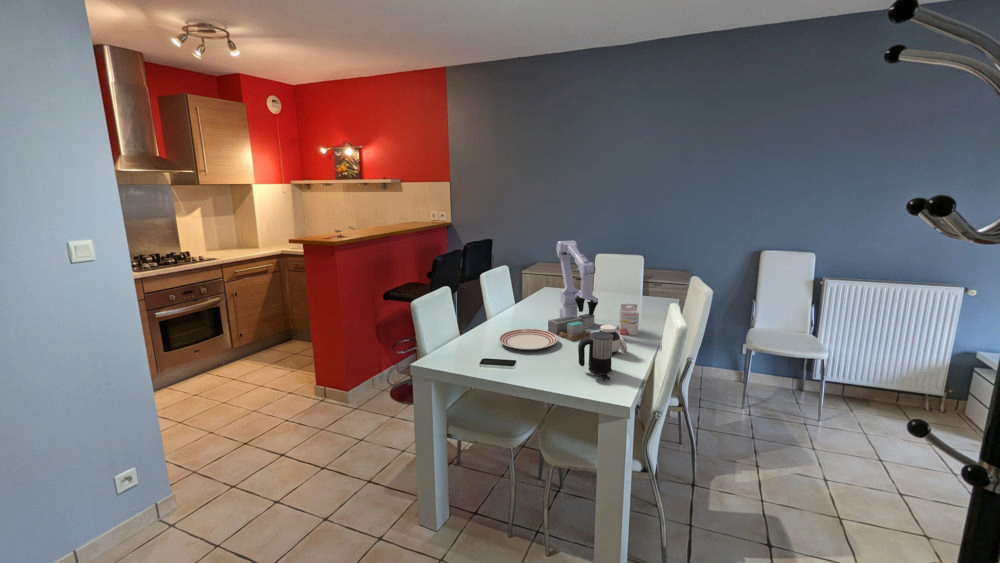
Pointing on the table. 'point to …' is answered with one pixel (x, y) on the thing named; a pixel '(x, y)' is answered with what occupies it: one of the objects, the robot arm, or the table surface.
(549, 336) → the dinner plate
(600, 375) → the milk frother
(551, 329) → the grey long block
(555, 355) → the table surface
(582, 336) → the walnut tray
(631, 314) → the ink cartridge box
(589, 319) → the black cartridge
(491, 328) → the table surface
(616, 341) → the spread jar
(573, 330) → the teal cartridge
